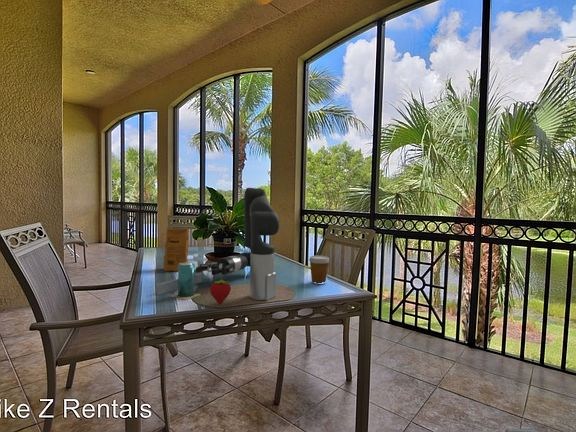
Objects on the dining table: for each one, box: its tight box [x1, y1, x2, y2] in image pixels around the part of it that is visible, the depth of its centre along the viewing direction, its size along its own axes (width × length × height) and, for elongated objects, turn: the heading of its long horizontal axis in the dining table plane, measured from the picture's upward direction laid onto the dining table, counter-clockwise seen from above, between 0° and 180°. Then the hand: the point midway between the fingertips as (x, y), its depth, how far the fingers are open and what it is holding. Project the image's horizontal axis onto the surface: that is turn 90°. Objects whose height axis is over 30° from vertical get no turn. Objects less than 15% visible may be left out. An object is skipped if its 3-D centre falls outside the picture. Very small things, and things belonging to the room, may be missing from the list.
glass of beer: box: [308, 255, 330, 283], centre depth 151 cm, size 10×10×12 cm
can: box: [177, 261, 196, 297], centre depth 126 cm, size 6×6×12 cm
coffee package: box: [163, 227, 189, 273], centre depth 170 cm, size 10×12×22 cm
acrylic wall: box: [155, 272, 203, 296], centre depth 137 cm, size 1×24×4 cm, turn 152°
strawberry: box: [209, 276, 232, 305], centre depth 117 cm, size 6×8×10 cm
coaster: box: [169, 292, 202, 301], centre depth 126 cm, size 8×8×1 cm
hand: (204, 271), depth 134 cm, fingers open, 8 cm apart
